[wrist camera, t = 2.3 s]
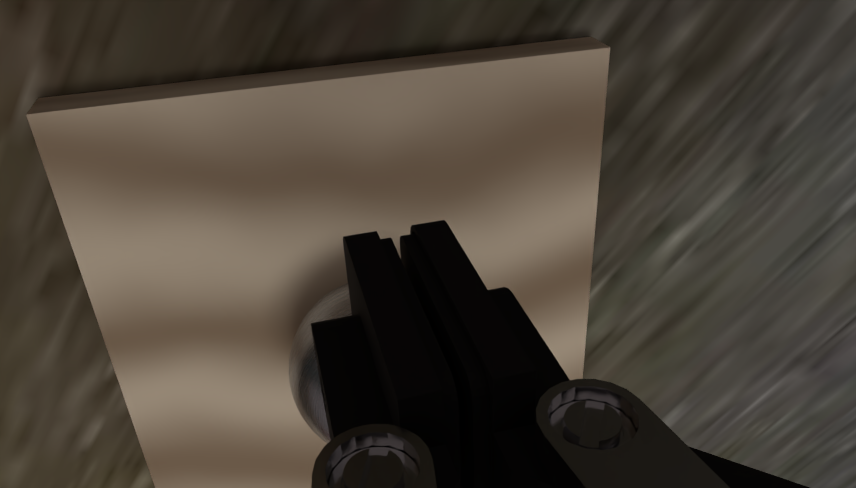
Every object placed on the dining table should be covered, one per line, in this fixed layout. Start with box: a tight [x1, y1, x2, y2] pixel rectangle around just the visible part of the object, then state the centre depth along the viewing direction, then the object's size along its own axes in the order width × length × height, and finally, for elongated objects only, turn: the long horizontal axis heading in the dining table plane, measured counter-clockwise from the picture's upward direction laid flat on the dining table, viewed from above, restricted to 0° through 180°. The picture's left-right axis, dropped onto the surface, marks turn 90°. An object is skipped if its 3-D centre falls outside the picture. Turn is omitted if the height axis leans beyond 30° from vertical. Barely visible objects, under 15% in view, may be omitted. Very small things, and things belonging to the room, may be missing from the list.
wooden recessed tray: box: [26, 37, 610, 488], centre depth 30 cm, size 30×18×2 cm, turn 3°
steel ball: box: [289, 283, 352, 444], centre depth 24 cm, size 6×6×6 cm
